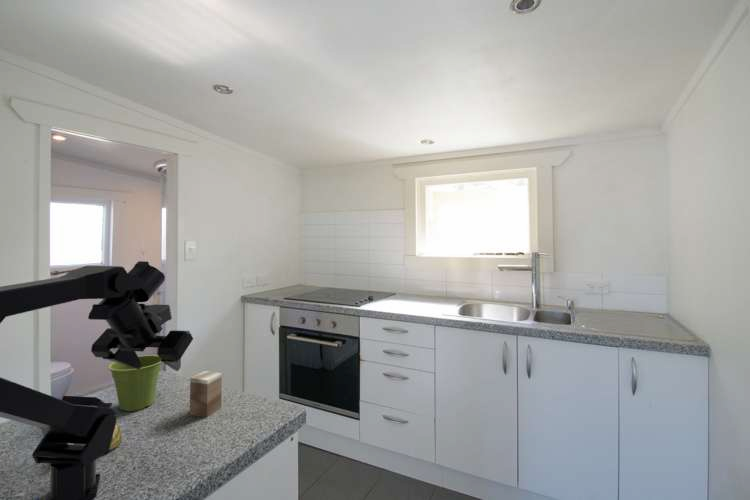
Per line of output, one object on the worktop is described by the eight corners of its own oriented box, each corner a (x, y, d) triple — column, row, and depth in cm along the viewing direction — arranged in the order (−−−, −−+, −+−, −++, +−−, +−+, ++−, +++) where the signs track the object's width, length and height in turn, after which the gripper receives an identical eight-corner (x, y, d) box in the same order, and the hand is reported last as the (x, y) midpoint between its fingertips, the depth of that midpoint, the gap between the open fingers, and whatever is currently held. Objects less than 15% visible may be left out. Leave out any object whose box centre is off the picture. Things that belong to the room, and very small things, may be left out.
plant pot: (156, 392, 98) (157, 352, 98) (169, 405, 90) (169, 362, 90) (103, 405, 89) (104, 361, 89) (112, 421, 81) (113, 373, 81)
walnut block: (221, 408, 89) (221, 373, 89) (207, 417, 84) (207, 380, 84) (204, 405, 90) (205, 371, 90) (189, 414, 85) (190, 377, 85)
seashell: (90, 462, 73) (56, 442, 69) (119, 429, 78) (89, 409, 74) (107, 471, 67) (71, 450, 64) (138, 434, 72) (106, 413, 68)
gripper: (192, 292, 74) (215, 340, 83) (111, 290, 76) (142, 338, 85) (162, 333, 65) (192, 382, 74) (71, 329, 67) (110, 378, 76)
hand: (159, 368), depth 77 cm, fingers open, 9 cm apart
